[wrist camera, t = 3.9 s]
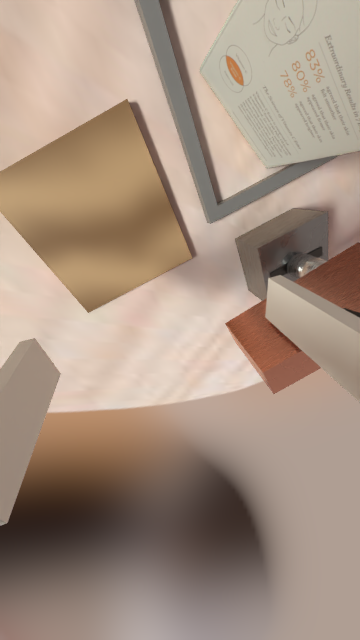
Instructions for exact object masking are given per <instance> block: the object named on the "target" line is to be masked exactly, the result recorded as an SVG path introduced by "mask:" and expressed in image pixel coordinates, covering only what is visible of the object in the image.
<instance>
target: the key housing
mask: <svg viewBox="0 0 360 640" xmlns="http://www.w3.org/2000/svg"><path fill="white" fill-rule="evenodd" d="M235 241H236V244H237V248H238V252H239V256H240V260H241V263H242V267H243V271H244V275H245V278H246V282H247V286H248V290H249V291H250V292H252V293H253V294H254V295H255V296H257V297H258V298H259V299H261V300H262V301H263V300H265V299H266V298H267V290H268V278H271V277H275V276H279V275H281V276H283V277H285V278H287V279H289V280H291V281H293V282H294V281H296V280H297V279H296V278H294V277H292V276H290V275H289V274H288V273H287V265H288V262H289V261H290V259H291V258H292V257H293V256H294V255H296V254H298V253H305V254H308V255H311V256H314V257H317V258H320V259H323V260H326V261H328V212H326V211H315V210H304V209H291V210H289V211H287V212H285V213H283V214H281V215H280V216H278V217H276V218H274V219H272V220H270V221H268V222H266V223H264V224H262V225H260V226H259V227H257V228H255V229H253V230H251V231H249V232H247V233H245V234H243V235H241V236H239V237H238V238H236V239H235Z"/></svg>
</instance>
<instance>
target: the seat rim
mask: <svg viewBox="0 0 360 640" xmlns="http://www.w3.org/2000/svg"><path fill="white" fill-rule="evenodd" d="M135 3H136V6H137V9H138V12H139V15H140V18H141V21H142V25H143V28H144V31H145V34H146V37H147V40H148V43H149V46H150V49H151V52H152V55H153V58H154V61H155V64H156V67H157V70H158V73H159V76H160V79H161V82H162V86H163V89H164V92H165V95H166V98H167V101H168V104H169V107H170V110H171V113H172V116H173V119H174V122H175V125H176V128H177V131H178V134H179V137H180V140H181V143H182V146H183V150H184V153H185V156H186V159H187V162H188V165H189V168H190V171H191V174H192V177H193V180H194V183H195V186H196V189H197V192H198V195H199V198H200V201H201V204H202V207H203V210H204V214H205V217H206V220H207V223H210V224H211V223H213V222H215V221H217V220H219V219H221V218H223V217H224V216H226V215H228V214H230V213H232V212H234V211H236V210H238V209H239V208H241V207H243V206H245V205H247V204H249V203H251V202H253V201H255V200H256V199H258V198H260V197H262V196H264V195H266V194H268V193H270V192H271V191H273V190H275V189H277V188H279V187H281V186H283V185H285V184H287V183H288V182H290V181H292V180H294V179H296V178H298V177H300V176H302V175H303V174H305V173H307V172H309V171H311V170H313V169H315V168H317V167H319V166H320V165H322V164H324V163H326V162H328V161H330V160H332V159H334V158H335V157H337V156H339V155H336V156H330V157H325V158H320V159H315V160H310V161H304V162H299V163H293V164H291V165H289V166H287V167H285V168H283V169H281V170H280V171H278V172H276V173H274V174H272V175H270V176H268V177H266V178H265V179H263V180H261V181H259V182H257V183H255V184H253V185H252V186H250V187H248V188H246V189H244V190H242V191H240V192H238V193H237V194H235V195H233V196H231V197H229V198H227V199H225V200H224V201H222V202H220V203H218V204H217V202H216V198H215V195H214V191H213V188H212V184H211V181H210V177H209V174H208V170H207V167H206V164H205V160H204V157H203V153H202V150H201V146H200V143H199V139H198V136H197V132H196V129H195V125H194V122H193V118H192V115H191V111H190V108H189V104H188V101H187V97H186V94H185V90H184V87H183V83H182V80H181V76H180V73H179V69H178V66H177V62H176V59H175V56H174V52H173V49H172V45H171V42H170V38H169V35H168V31H167V28H166V24H165V21H164V17H163V14H162V10H161V7H160V3H159V0H135Z"/></svg>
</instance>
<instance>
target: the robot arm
mask: <svg viewBox="0 0 360 640" xmlns="http://www.w3.org/2000/svg"><path fill="white" fill-rule="evenodd" d="M265 317H266V318H267V319H268V320H269V321H270V322H271V323H272V324H273V325H274V326H275V327H277V328H278V329H279V330H280V331H281V332H282V333H283V334H284V335H285V336H287V337H288V338H289V339H290V340H291V341H292V342H293V343H294V344H295V345H296V346H298V347H299V348H300V349H301V350H302V351H303V352H304V353H305V354H306V355H308V356H309V357H310V358H311V359H312V360H313V361H314V362H315V363H316V364H318V365H319V366H320V367H321V368H322V369H323V370H324V371H325V372H326V373H327V374H329V375H330V376H331V377H332V378H333V379H334V380H335V381H336V382H337V383H339V384H340V385H341V386H342V387H343V388H344V389H345V390H346V391H347V392H349V393H350V394H351V395H352V396H353V397H354V398H355V399H356V400H357V401H358V402H360V313H359V312H356V311H353V310H350V309H346V308H341V307H339V306H337V305H335V304H333V303H331V302H330V301H328V300H326V299H324V298H322V297H320V296H318V295H317V294H315V293H313V292H311V291H309V290H307V289H306V288H304V287H302V286H300V285H298V284H296V283H294V282H293V281H291V280H289V279H287V278H285V277H283V276H281V275H279V276H275V277H271V278H268V290H267V302H266V314H265ZM60 374H61V373H60V372H59V371H58V369H57V368H56V367H55V365H54V364H53V362H52V361H51V360H50V358H49V357H48V356H47V354H46V353H45V351H44V350H43V349H42V347H41V346H40V345H39V343H38V342H37V340H36V339H35V338H34V339H30V340H26V341H22V342H19V344H18V345H17V347H16V348H15V349H14V351H13V352H12V354H11V355H10V356H9V358H8V359H7V361H6V362H5V364H4V365H3V366H2V368H1V369H0V525H3V524H6V523H7V522H8V519H9V517H10V514H11V511H12V508H13V505H14V503H15V500H16V497H17V494H18V491H19V489H20V486H21V483H22V480H23V477H24V475H25V472H26V469H27V466H28V464H29V461H30V458H31V455H32V452H33V450H34V447H35V444H36V441H37V438H38V436H39V433H40V430H41V427H42V424H43V422H44V418H45V416H46V413H47V410H48V408H49V405H50V402H51V399H52V396H53V394H54V391H55V388H56V385H57V383H58V380H59V377H60Z"/></svg>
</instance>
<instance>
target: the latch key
mask: <svg viewBox="0 0 360 640" xmlns="http://www.w3.org/2000/svg"><path fill="white" fill-rule="evenodd" d="M287 273H288V274H289V275H290V276H292V277H294V278H296V279H297V280H296V281H294V283H296V284H298V285H300V286H302V287H304V288H306V289H307V290H309V291H311V292H313V293H315V294H317V295H318V296H320V297H322V298H324V299H326V300H328V301H330V302H331V303H333V304H335V305H337V306H339V307H341V308H346V309H350V310H353V311H356V312H359V313H360V243H356V244H355V245H353V246H351V247H350V248H348V249H346V250H345V251H343V252H342V253H340V254H338V255H337V256H335V257H333V258H332V259H330V260H328V261H326V260H323V259H320V258H317V257H314V256H311V255H308V254H305V253H298V254H296V255H294V256H293V257H292V258H291V259H290V261H289V262H288V265H287ZM266 302H267V298H266V299H265V300H263V301H261V302H260V303H258V304H256V305H255V306H253V307H252V308H250V309H248V310H247V311H245V312H243V313H242V314H240V315H238V316H237V317H235V318H234V319H232V320H230V321H229V322H227V323H225V324H226V326H227V328H228V329H229V331H230V333H231V335H232V336H233V338H234V340H235V342H236V344H237V345H238V346H239V348H240V349H241V350H242V352H243V353H244V354H245V356H246V357H247V358H248V360H249V361H250V363H251V364H252V365H253V367H254V368H255V369H256V371H257V372H258V373H259V375H260V376H261V377H262V379H263V380H264V382H265V383H266V384H267V386H268V387H269V388H270V390H271V391H272V392H273V394H275V393H277V392H278V391H280V390H282V389H284V388H286V387H287V386H289V385H291V384H293V383H295V382H296V381H298V380H300V379H302V378H304V377H305V376H307V375H309V374H311V373H313V372H315V371H316V370H318V369H320V368H321V367H320V366H319V365H318V364H316V363H315V362H314V361H313V360H312V359H311V358H310V357H309V356H308V355H306V354H305V353H304V352H303V351H302V350H301V349H300V348H299V347H298V346H296V345H295V344H294V343H293V342H292V341H291V340H290V339H289V338H288V337H287V336H285V335H284V334H283V333H282V332H281V331H280V330H279V329H278V328H277V327H275V326H274V325H273V324H272V323H271V322H270V321H269V320H268V319H267V318H266V317H265V314H266Z"/></svg>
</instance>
